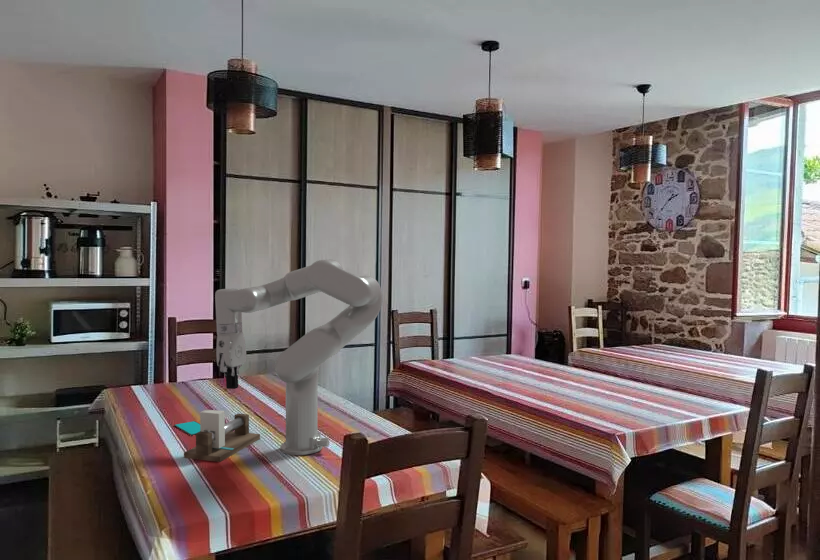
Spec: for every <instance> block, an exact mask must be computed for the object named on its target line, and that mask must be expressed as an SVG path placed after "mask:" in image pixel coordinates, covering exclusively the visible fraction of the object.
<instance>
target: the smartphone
mask: <svg viewBox="0 0 820 560" xmlns="http://www.w3.org/2000/svg"><path fill="white" fill-rule="evenodd" d="M175 426H176V427H177V428H176V427H175ZM173 427H175V428H176V429H178V428H179V429H178V430H180V429H181V430H182V431H181V430H180V431H181V432H183V431H184V432H183V433H185V434H186V433H187V435H188V434H189V436H190V435H191V436H190V437H194V436H193V435H195V436H196V433H198V432H200V422H197V421H195V420H193V421H186V422H182V423H176V424H174V425H173Z"/></svg>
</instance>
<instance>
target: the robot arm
mask: <svg viewBox="0 0 820 560" xmlns="http://www.w3.org/2000/svg"><path fill="white" fill-rule="evenodd" d="M321 292H322V293H324V294H326V295H328V296H330V297H332V298H333V299H336V300H337V301H340V302H342V303H345V304H346V305H347V307H346V308H345V309H343V310H342V311H341V312H340V313H338V314H337V315H336V316H335V317H333V318H332V319H331V320H330V321H328V322H326V323H324V324H322V325H320V326H317V327H315V328H313V329H311V330H309V331H308V332H307V333H306V334H303V336H302V337H300V338H299V339H297V341H295V342H293V344H291V345H290V346H289V347H287V348H286V349H285V350H284V351H282V352H281V353H280V354H279V355H278V357H277V358H276V360H275V362H274V363H275V364H274V369H275V374H276V376H277V377H278V378H279V380H281V381H282V382H284V383H286V384H285V441H284V442H283V443H281V444H280V451H281V452H282V453H283V454H285V455H290V456H291V455H292V456H306V455H312V454H315V453H318V452H320V451H321V450H322V449H323V448H324V447H326V448H327V447H330V439H329V437H322V435H321V432H318V393H319V391H318V388H319V387H318V385H319V373H320V366H321V365H323V364H324V363H325V362H326V361H328V360H329V359H330V358H332V357H334V356H335V355H336V354H338V353H339V352H340V351H341V350H342V349H343V348H344V347H345V346H347V344H349V343H350V342H352V341H353V340H354V339H356V338H357V336H359V335H360V334H361V333H363V332H364V331H365V330H366V329H367V328H368V327H370V326H371V325H372V323H373V322H374V321H375V320H376V318H377V317H378V315H379V313H380V311H381V308H382V306H383V305H382V304H383V292H382V288H381V285H380V283H379V282H378V280H377V279H376V278H374V277H371V276H369V275H368V276H367V275H361V276H358V275H356V274H353V273H351V272H349V271H347V270H345V269H344V268H343V266H342V265H341V264H340V262H339V261H336V260H333V259H319V260H316V261H315V262H313V263H312V264H311V265H308V266H305V267H302V268H299V269H295V270H292V271H289V272H287V273H286V274H285V275H284V276H283V277H282V278H280V279H276V280H274V281H272V282H268V283H266V284H265V283H264V284H262V285H259V286H252V287H244V288H239V289H237V288H222V289H217V290H216V291H215V293H214V294H215V295H214V296H215V297H214V299H215V300H214V301H215V322H216V335H217V336H216V346H215V347H216V351H215V353H216V354H215V355H216V365H217V367H218V368H219V372H220V373H224V376H225V382H226V383H225V385H226V389H227V390H230V389H231V390H236V389H238V388H239V374H240V372H239V371H240V369H241V367H243V364H245V363H246V362H247V357H248V356H247V348H246V347H247V346H246V340H245V334H244V332H243V317H242V313H244V314H248V313H249V314H250V313H255V312H259V311H264V310H266V309H269V308H272V307H276V306H279V305H281V304H285V303H287V302H291V301H296V300H300V299H303V298H306V297H309V296H312V295H314V294H319V293H321Z"/></svg>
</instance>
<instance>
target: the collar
mask: <svg viewBox="0 0 820 560" xmlns="http://www.w3.org/2000/svg"><path fill="white" fill-rule="evenodd" d="M199 413H200V414H199V415H200V417H199V418H200V421H199V424H200V431H201V432H209V431H215V440H214V441H212V448H221V447H223V446H224V445H225V424H226V422H225V421H226V417H225V416H226V414H225V410H216V409H215V410H213V409H204V410H202V411H200V412H199Z"/></svg>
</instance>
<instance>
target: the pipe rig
mask: <svg viewBox="0 0 820 560" xmlns="http://www.w3.org/2000/svg"><path fill="white" fill-rule="evenodd" d="M260 439H261V433H253V432H250V414H245V413H236V414H234V418H233V419H232V420H230V421H228V422H225V445H224V446H223V447H221V448H212V441H214V440H215V431H209V432H201V431H200V432H198V433H196V435H195V446H193V447H192V448H191V449H188V450H186V451H185V452H183V458H184V459H191V460H192V459H193V460H198V461H199V460H201V461H210V462H217V463H221V462H223V461H225V460H227V459H228V458H229V457H231V456H233V455H235V454H237V453H238V452H240V451H242V450H243V449H245V448H247V447H248V446H250V445H252V444H254V443H256V442H257V441H259V440H260Z"/></svg>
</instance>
